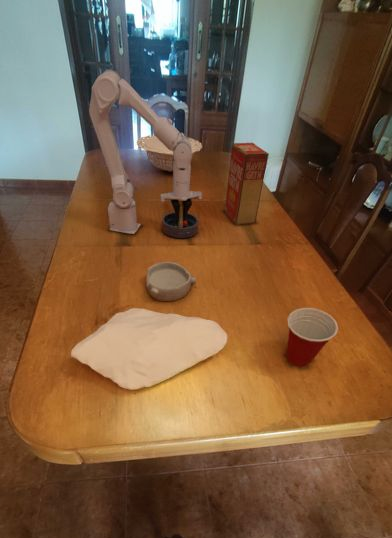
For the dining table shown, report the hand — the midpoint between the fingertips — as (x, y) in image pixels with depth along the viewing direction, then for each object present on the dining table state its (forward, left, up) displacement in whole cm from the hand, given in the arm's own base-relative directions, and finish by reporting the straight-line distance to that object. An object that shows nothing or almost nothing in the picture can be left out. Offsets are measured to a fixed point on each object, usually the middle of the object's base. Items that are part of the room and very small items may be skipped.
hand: (180, 219), depth 116 cm
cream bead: (-1, -3, -2) cm, 4 cm away
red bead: (+1, +3, -2) cm, 4 cm away
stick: (0, 0, -3) cm, 3 cm away
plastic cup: (+44, -54, -4) cm, 70 cm away
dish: (+6, -36, -4) cm, 37 cm away
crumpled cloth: (+9, -62, -4) cm, 63 cm away
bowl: (0, 0, -4) cm, 4 cm away
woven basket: (-21, +59, -4) cm, 63 cm away
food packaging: (+20, +20, -4) cm, 29 cm away
